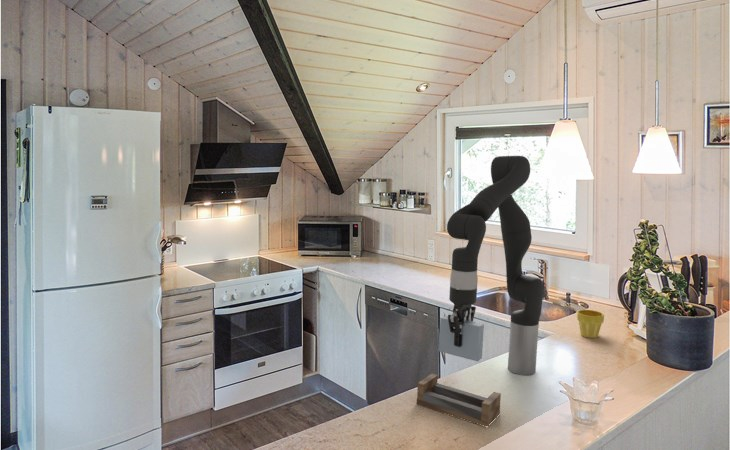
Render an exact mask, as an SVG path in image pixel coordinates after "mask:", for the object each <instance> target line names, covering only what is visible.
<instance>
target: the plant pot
mask: <svg viewBox="0 0 730 450" xmlns="http://www.w3.org/2000/svg"><path fill="white" fill-rule="evenodd" d="M576 319H577V321H578V325H579V331H580V335H581V336H582V337H585V338H589V339H595V338H598V337H599V335H600V331H601V327H602V325H603V323H604V320H605V314H604V313H603V312H602V311H598V310H593V309H579V310H577V312H576Z"/></svg>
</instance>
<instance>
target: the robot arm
mask: <svg viewBox="0 0 730 450" xmlns="http://www.w3.org/2000/svg"><path fill="white" fill-rule="evenodd" d="M530 175H531V163H530V161H529V159H528V158H527V157H526V156H523V155H500V156H499V155H498V156H495V157H494V158H493V159H492V161H491V163H490V176H491V182H492V183H491V184H490V185H488V186H486V187H485V188H483V189H481V190H480V191H479V192H478V193H477V194H476V195H475V196H474V198H473V199H472V200H471V201H470V202H469V203H468V204H466V205H464V206H463V207H461V208H459V209H458V210H456V211H455V212H454V213H453V214H452V215H450V217H449V219H448V221H447V224H446V230H447V233H448V235H449V236H450V237H451V238H453V239H456V240H463V241H468V242H467V244H466V246H464V247H463V246H462V247H461V246H460V247H457V248H456V247H455V248H454V249H453V251H452V256H451V271H450V277H449V278H450V279H449V299H448V300H449V301H450V302H451V303H453V308H452V314H448V315H447V316H448V321H449V327H450V332H452V333H454V345H455V346H457V347H461V346H462V336H463V334H462V333H463V326H465V323H466V320H467V321H473V322H474V320H475V319H474V318H475V314H476V309H477V307H476V306H473V305H474V304H476V303H477V299H478V297H477V296H478V259H479V253H480V250H481V246H482V243H483V242H484V238H485V235H486V231H487V224H486V222H487V221H489V220H490V218H491V217H492V216H493V214H494V213H495V212H496V210H498V215H499V222H500V231H501V238H502V243H503V249H504V257H505V266H506V267H505V271H506V277H505V278H506V288H507V289H506V290H507V294H508V296H509V298H510V299H511V300H513V301H517V302H520V303H524V304H525V305H524V308H523V309H518V310H514V311H512V312H511V314H510V327H509V342H508V343H509V344H508V357H507V369H508V371H509V372H511V373H512V374H516V375H520V376H531V375H535V374H536V369H537V355H538V354H537V353H538V339H539V323H540V318H541V313H542V306H543V298H544V291H545V290H544V289H545V288H544V282H543V281H542V279H541V278H539V277H535V276H531V275H527V274H524V273H523V270H522V265H523V264H522V262H523V260H524V257H525V255H526V253H527V252H528V250H529V248H530V246H531V244H532V229H531V222H530V219H529V217H528V216H527V215H526V213H525V211H524V210H523V209H522V207H520V205H519V204H518V203H517V202H516V200H515V198H514V197H513V194H514V193H515V192H516V191H517V190H519V189H520V188H522V187H523V186H524V185H525V184H526V183H527V182H528V180H529V178H530ZM458 321H460V322H462V323H459V322H458ZM459 326H460V327H459Z"/></svg>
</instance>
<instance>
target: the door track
mask: <svg viewBox="0 0 730 450" xmlns="http://www.w3.org/2000/svg"><path fill="white" fill-rule="evenodd" d="M438 377H439V376H438V375H437V374H435V373H431V374H429V375H427V376H426V377H425V378H423V379H421V380H420V381H419V382H417V392H416V394H417V396H416V397H417V398H416V405H418V406H421V407H424V408H427V409H430V410H432V411H436V412H438V411H439V412H438V413H441V412H442V414H444V413H446V414H445V415H447V414H449V415H448V416H450V415H453V416H455V417H454V418H456V417H459V418H462V419H465V420H468V421H471V422H473V423H472V424H474V423H478V424H481V425H484V426H489V424H490V423H491V422H492V421H493V420H494V419H495V418H497V416H498V415H499V414H500V415H501V397H502V393H500V392H497V391H493V392H492V393H491V394H490V395H488V396H487V397H484V396H482V395H478V394H475V393H471V392H469V391H465V390H461V389H458V388H456V387H455V388H454V387H451V386H448V385H446V384H445V385H444V384H442V383H439V382H438ZM500 415H499V416H500ZM453 416H452V417H453ZM499 416H498V417H499ZM459 418H458V419H459ZM462 419H461V420H462ZM465 420H464V421H465ZM468 421H467V422H468ZM471 422H470V423H471ZM489 427H490V426H489Z"/></svg>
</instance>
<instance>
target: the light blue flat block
mask: <svg viewBox="0 0 730 450" xmlns="http://www.w3.org/2000/svg"><path fill="white" fill-rule="evenodd" d="M439 320H440V321H439V337H438V338H439V341H438V352H440V353H444V354H447V355H452V356H455V357H460V358H463V359H466V360H470V361H475V362H480V360H481V359H483V347H484V345H483V343H484V327H485V326H484V325H485V324H484V323H481V322H478V321H474V320H473V321H467V320H466V323H465V326H463V333H462V334H463V336H462V346H461V347H457V346H455V345H454V333H452V332H450V327H449V321H448V315H443V316H441V317H440V318H439ZM458 322H459V323H462V322H460V321H458ZM459 327H460V326H459Z"/></svg>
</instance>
